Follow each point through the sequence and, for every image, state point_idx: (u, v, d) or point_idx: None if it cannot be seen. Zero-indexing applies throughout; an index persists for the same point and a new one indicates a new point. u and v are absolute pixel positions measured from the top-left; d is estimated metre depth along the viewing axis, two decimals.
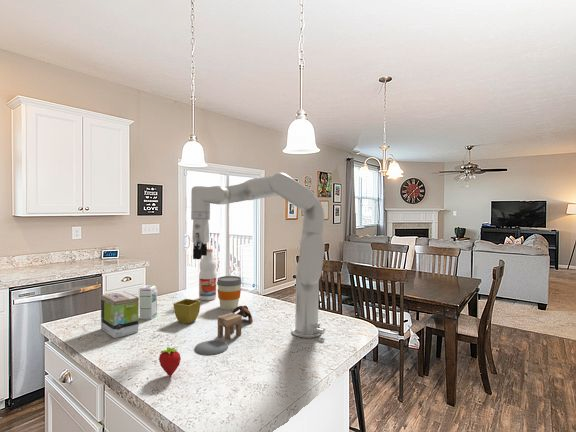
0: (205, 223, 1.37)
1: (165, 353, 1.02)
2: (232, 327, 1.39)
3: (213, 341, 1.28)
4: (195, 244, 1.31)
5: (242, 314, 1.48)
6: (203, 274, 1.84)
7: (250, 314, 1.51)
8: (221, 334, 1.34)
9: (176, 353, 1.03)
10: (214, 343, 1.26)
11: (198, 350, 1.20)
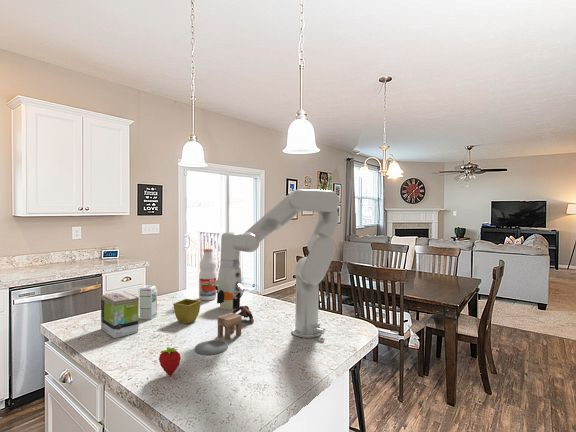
0: None
1: (165, 353, 1.02)
2: (232, 327, 1.39)
3: (213, 341, 1.28)
4: (241, 294, 1.30)
5: (243, 314, 1.47)
6: (203, 274, 1.84)
7: (251, 314, 1.51)
8: (221, 334, 1.34)
9: (176, 353, 1.03)
10: (214, 343, 1.26)
11: (198, 350, 1.20)
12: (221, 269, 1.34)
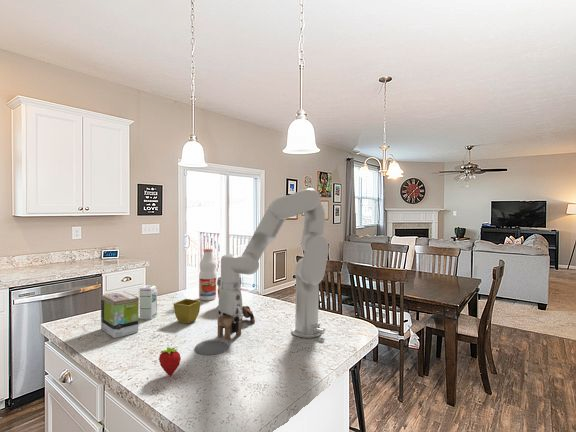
0: None
1: (165, 353, 1.02)
2: None
3: (213, 341, 1.28)
4: (240, 318, 1.31)
5: (244, 314, 1.47)
6: (203, 274, 1.84)
7: (252, 314, 1.50)
8: (221, 334, 1.34)
9: (176, 353, 1.03)
10: (214, 343, 1.26)
11: (198, 350, 1.20)
12: (221, 292, 1.35)
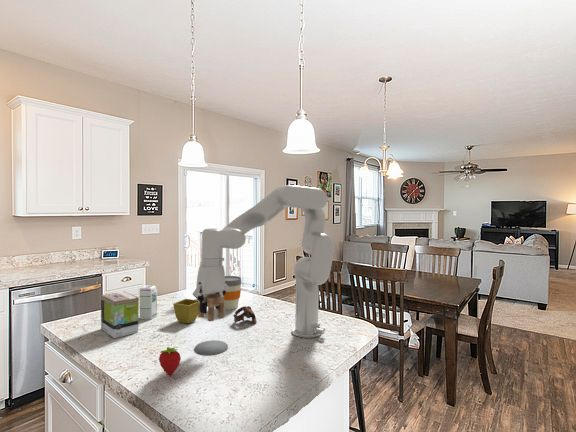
0: None
1: (165, 353, 1.02)
2: None
3: (213, 341, 1.28)
4: None
5: (246, 315, 1.47)
6: None
7: (254, 315, 1.50)
8: None
9: (176, 353, 1.03)
10: (214, 343, 1.26)
11: (198, 350, 1.20)
12: (211, 270, 1.20)
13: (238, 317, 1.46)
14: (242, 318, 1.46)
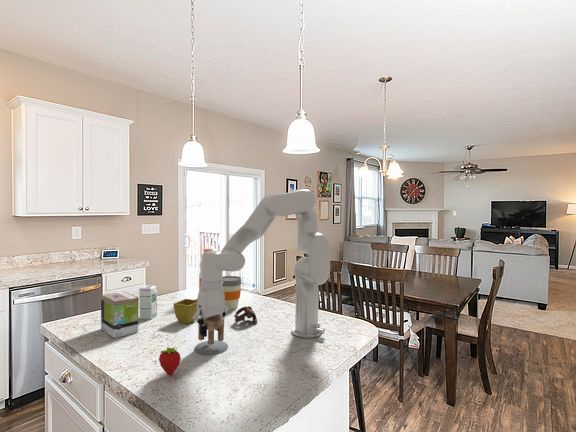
0: None
1: (165, 353, 1.02)
2: None
3: None
4: None
5: (247, 315, 1.47)
6: None
7: (255, 315, 1.50)
8: None
9: (176, 353, 1.03)
10: (214, 343, 1.26)
11: (198, 350, 1.20)
12: (210, 294, 1.20)
13: (239, 317, 1.46)
14: (243, 318, 1.46)
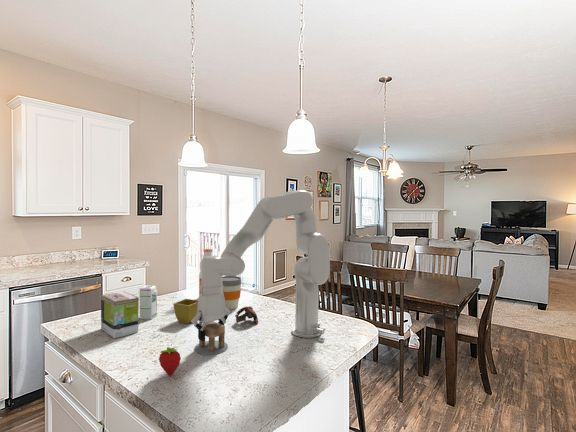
0: None
1: (165, 353, 1.02)
2: None
3: None
4: None
5: (248, 315, 1.46)
6: None
7: (256, 315, 1.50)
8: None
9: (176, 353, 1.03)
10: None
11: (198, 350, 1.20)
12: (211, 299, 1.20)
13: (240, 317, 1.46)
14: (244, 318, 1.46)
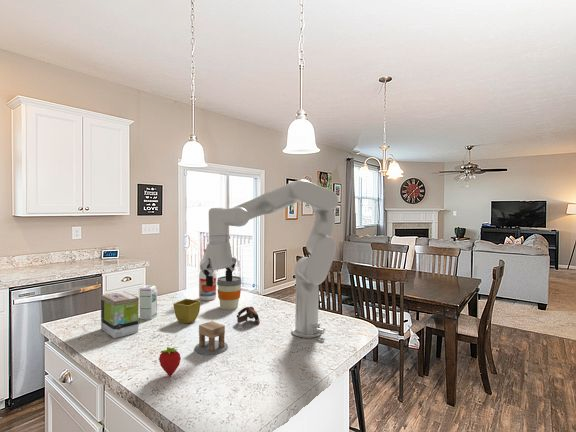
0: None
1: (165, 353, 1.02)
2: None
3: None
4: None
5: (250, 315, 1.46)
6: (203, 274, 1.84)
7: (257, 315, 1.49)
8: None
9: (176, 353, 1.03)
10: None
11: (198, 350, 1.20)
12: (218, 247, 1.26)
13: (241, 318, 1.46)
14: (245, 319, 1.45)
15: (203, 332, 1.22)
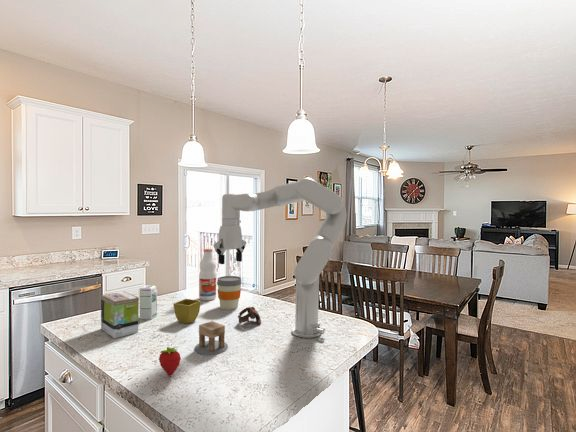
0: None
1: (165, 353, 1.02)
2: None
3: None
4: None
5: (251, 316, 1.46)
6: (203, 274, 1.84)
7: None
8: None
9: (176, 353, 1.03)
10: None
11: (198, 350, 1.20)
12: (230, 229, 1.40)
13: (243, 318, 1.45)
14: (247, 319, 1.45)
15: (203, 332, 1.22)
